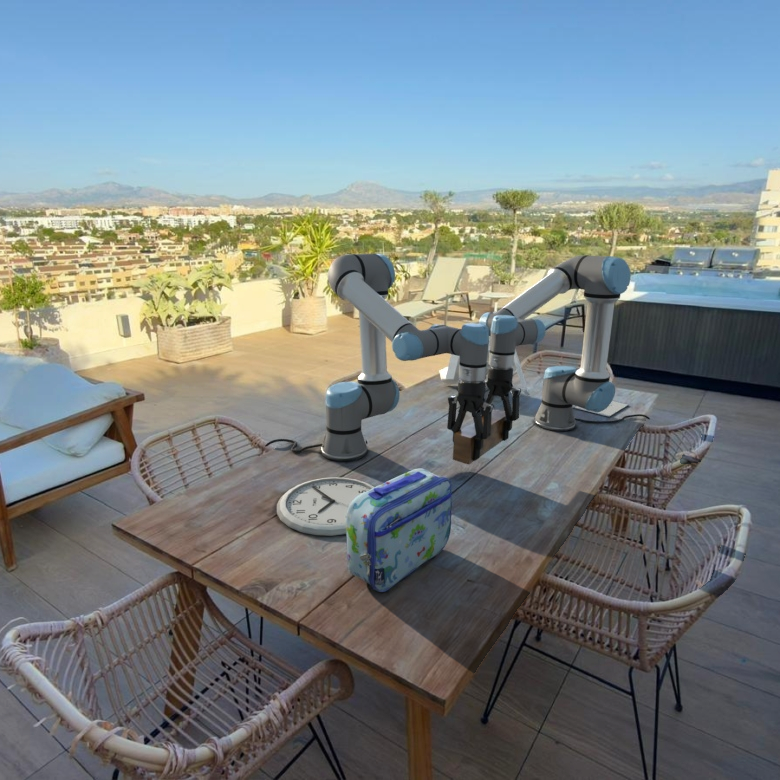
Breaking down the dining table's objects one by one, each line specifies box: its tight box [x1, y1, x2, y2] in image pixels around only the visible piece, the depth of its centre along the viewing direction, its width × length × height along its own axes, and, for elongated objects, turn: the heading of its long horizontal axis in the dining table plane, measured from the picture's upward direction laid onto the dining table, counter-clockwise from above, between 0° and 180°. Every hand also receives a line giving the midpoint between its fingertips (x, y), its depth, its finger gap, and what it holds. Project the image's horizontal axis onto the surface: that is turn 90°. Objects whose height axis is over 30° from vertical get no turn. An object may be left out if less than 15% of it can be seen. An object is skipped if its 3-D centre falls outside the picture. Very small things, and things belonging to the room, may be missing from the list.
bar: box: [452, 409, 506, 466], centre depth 158 cm, size 26×5×8 cm, turn 143°
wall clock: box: [276, 476, 376, 537], centre depth 142 cm, size 30×2×30 cm
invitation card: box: [573, 400, 629, 418], centre depth 226 cm, size 21×1×15 cm
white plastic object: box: [438, 310, 531, 397], centre depth 245 cm, size 37×45×31 cm
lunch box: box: [345, 467, 453, 593], centre depth 115 cm, size 26×11×21 cm, turn 135°
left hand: (466, 456), depth 152 cm, fingers closed on bar, 5 cm apart
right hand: (495, 436), depth 166 cm, fingers open, 6 cm apart
